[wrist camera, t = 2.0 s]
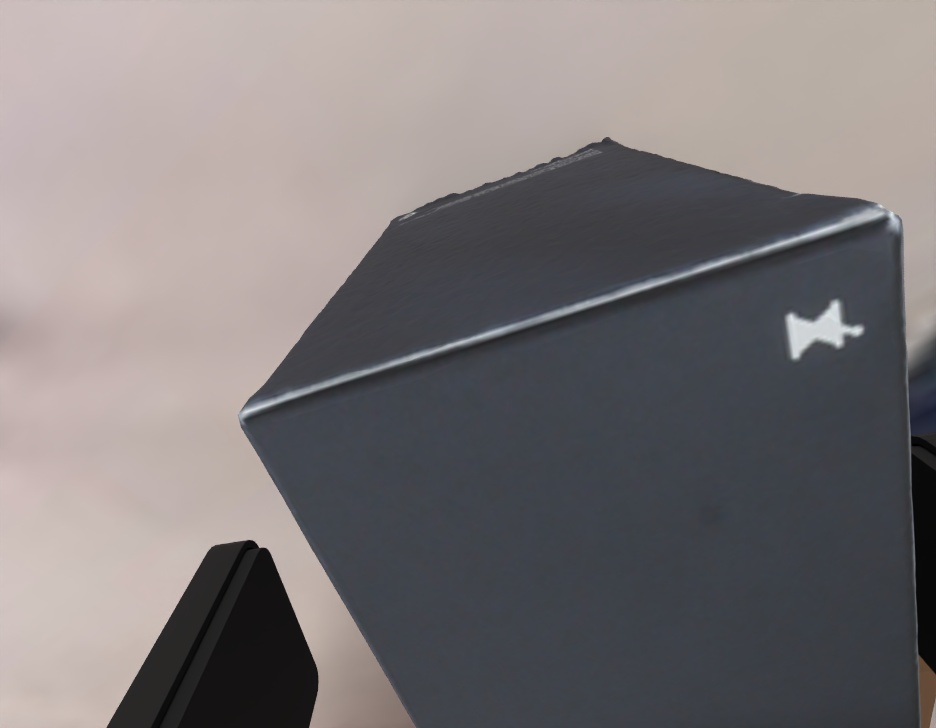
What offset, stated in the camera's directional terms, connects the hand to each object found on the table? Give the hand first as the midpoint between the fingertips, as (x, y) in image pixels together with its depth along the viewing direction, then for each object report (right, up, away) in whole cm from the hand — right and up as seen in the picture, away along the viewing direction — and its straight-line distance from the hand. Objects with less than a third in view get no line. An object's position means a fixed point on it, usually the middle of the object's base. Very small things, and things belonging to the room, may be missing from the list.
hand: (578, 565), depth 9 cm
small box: (+1, +3, +8) cm, 8 cm away
